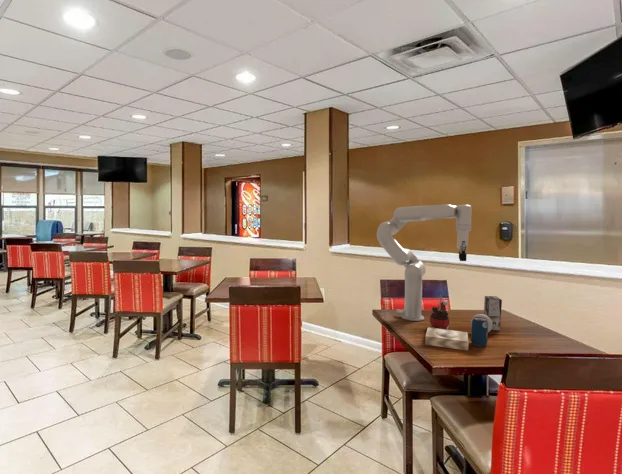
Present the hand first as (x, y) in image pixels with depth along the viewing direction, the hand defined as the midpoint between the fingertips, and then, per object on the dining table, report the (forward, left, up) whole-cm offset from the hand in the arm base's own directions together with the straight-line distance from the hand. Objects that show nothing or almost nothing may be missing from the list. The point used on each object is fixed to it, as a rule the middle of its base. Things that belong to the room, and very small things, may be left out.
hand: (462, 259), depth 196 cm
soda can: (+8, -28, -36) cm, 46 cm away
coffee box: (+16, +3, -36) cm, 39 cm away
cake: (-10, -12, -36) cm, 39 cm away
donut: (+10, -11, -36) cm, 39 cm away
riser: (-6, -32, -36) cm, 48 cm away
